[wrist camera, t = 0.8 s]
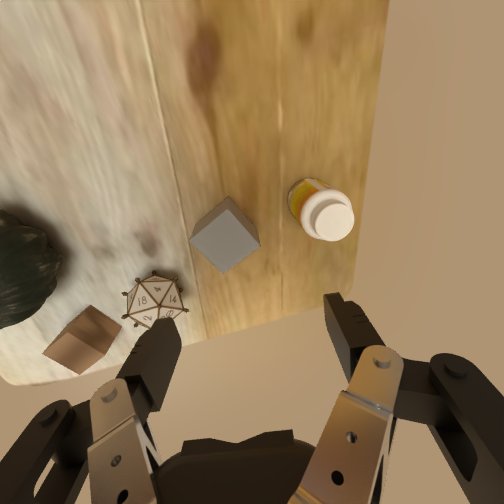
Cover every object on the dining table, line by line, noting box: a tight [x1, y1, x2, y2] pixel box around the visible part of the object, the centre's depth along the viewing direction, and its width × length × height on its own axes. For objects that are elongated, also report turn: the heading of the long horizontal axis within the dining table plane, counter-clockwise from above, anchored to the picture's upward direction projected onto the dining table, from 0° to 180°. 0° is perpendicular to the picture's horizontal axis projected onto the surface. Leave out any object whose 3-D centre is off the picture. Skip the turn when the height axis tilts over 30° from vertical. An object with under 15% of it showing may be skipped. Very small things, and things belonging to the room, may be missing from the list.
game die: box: [121, 271, 189, 329], centre depth 34 cm, size 9×8×10 cm
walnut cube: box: [42, 305, 122, 375], centre depth 38 cm, size 6×6×6 cm
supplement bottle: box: [288, 178, 354, 241], centre depth 29 cm, size 6×6×10 cm
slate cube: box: [189, 197, 261, 274], centre depth 32 cm, size 6×6×6 cm
